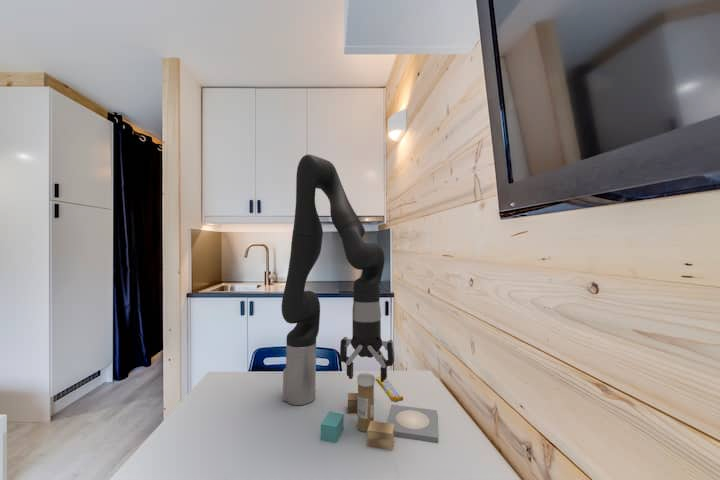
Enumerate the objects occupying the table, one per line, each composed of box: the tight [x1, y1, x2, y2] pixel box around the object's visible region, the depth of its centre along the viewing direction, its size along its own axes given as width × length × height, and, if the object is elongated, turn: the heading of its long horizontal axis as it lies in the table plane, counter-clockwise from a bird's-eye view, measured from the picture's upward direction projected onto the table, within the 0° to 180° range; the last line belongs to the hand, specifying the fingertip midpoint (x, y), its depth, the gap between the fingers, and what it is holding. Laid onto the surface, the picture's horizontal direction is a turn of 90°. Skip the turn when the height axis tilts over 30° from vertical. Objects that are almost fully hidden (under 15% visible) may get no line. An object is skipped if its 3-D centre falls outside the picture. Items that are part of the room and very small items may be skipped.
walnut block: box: [347, 392, 358, 414], centre depth 89 cm, size 6×4×4 cm, turn 92°
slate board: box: [386, 403, 439, 444], centre depth 82 cm, size 13×13×1 cm
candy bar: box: [375, 375, 404, 402], centre depth 102 cm, size 17×4×2 cm, turn 15°
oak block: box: [366, 420, 395, 451], centre depth 74 cm, size 6×4×4 cm, turn 78°
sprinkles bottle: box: [356, 372, 376, 433], centre depth 81 cm, size 5×5×14 cm
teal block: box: [320, 411, 345, 444], centre depth 77 cm, size 4×6×4 cm, turn 165°
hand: (366, 379), depth 81 cm, fingers open, 8 cm apart
